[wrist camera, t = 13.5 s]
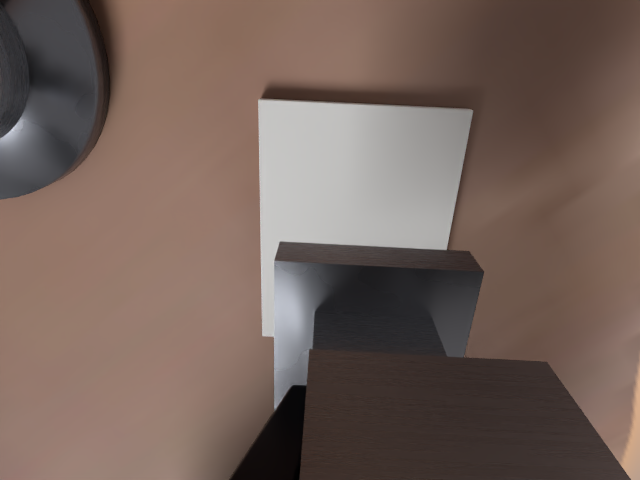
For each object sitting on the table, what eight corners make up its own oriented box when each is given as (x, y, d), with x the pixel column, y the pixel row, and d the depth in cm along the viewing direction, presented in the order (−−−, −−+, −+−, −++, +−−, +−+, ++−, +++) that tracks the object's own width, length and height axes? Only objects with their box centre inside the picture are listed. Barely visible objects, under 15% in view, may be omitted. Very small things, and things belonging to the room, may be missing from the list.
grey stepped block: (429, 436, 12) (544, 878, 5) (278, 428, 12) (217, 857, 5) (478, 210, 9) (837, 582, 3) (279, 199, 9) (154, 545, 3)
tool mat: (425, 337, 18) (428, 344, 18) (263, 329, 19) (262, 336, 18) (468, 108, 14) (473, 110, 14) (260, 98, 14) (258, 99, 14)
